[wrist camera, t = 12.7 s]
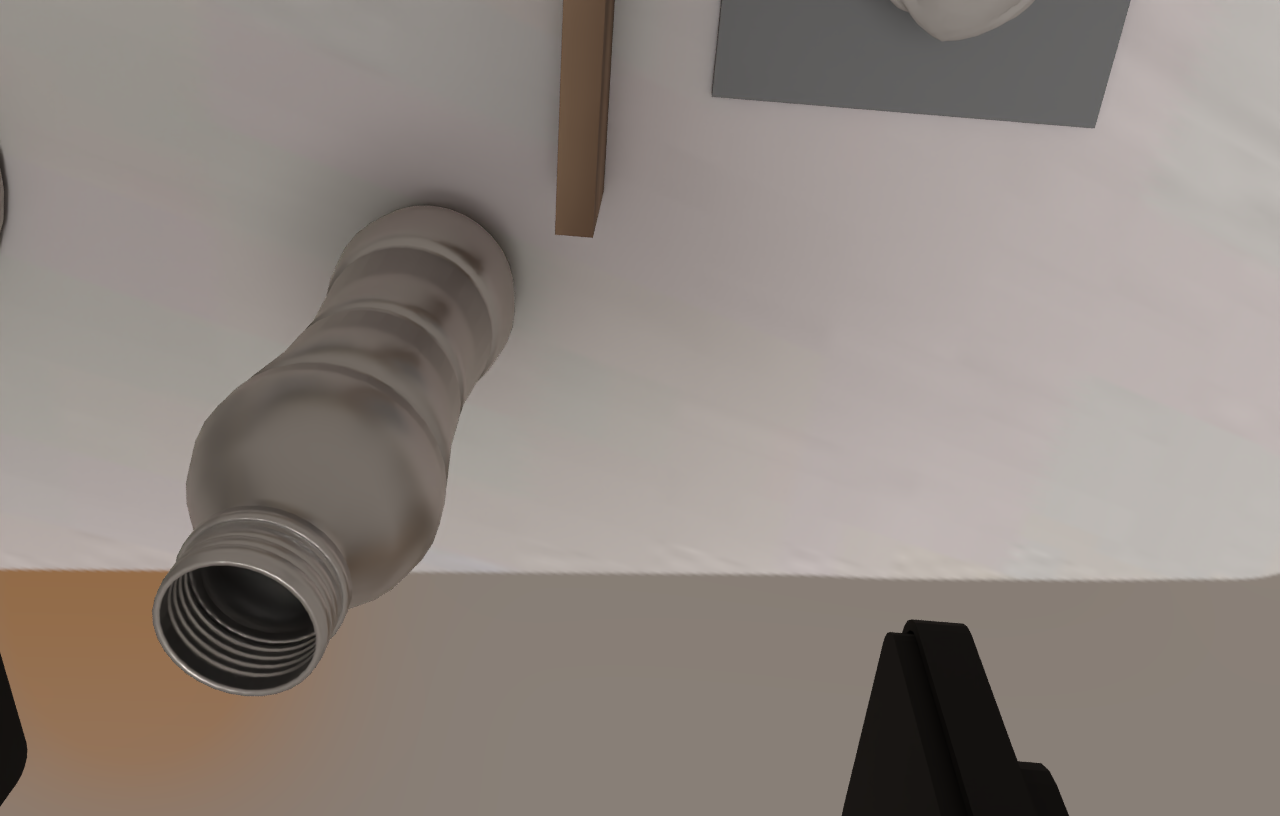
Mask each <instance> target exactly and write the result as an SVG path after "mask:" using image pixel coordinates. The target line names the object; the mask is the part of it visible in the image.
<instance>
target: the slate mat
mask: <svg viewBox="0 0 1280 816" xmlns="http://www.w3.org/2000/svg"><path fill="white" fill-rule="evenodd" d="M1130 1H1131V0H1035V1H1034V2H1033V3H1032V4H1031V5H1030V6H1029V7H1028V8H1027V9H1026V10H1025V11H1023V12H1022V13H1021V14H1020V15H1018V16H1017V17H1015V18H1014V19H1012V20H1010V21H1008V22H1006V23H1004V24H1003V25H1001V26H999V27H997V28H995V29H992V30H990V31H988V32H985V33H983V34H981V35H978V36H975V37H971V38H966V39H962V40H955V41H940V40H938V39H936V38H934V37H933V36H931V35H930V34H929V33H928V32H926V31H925V30H924V29H923V28H921V27H920V26H919V25H918V24H917V23H916V22H915V20H914V19H913V18H912V16H911V15H910V13H909V12H907V11H903V10H901V9H899V8H898V7H896V6H895V5H894V4H893V3H892V2H891V1H890V0H722V1H721V10H720V20H719V29H718V39H717V49H716V58H715V68H714V78H713V87H712V97H721V98H733V99H745V100H757V101H770V102H782V103H794V104H806V105H818V106H830V107H842V108H854V109H866V110H878V111H890V112H902V113H914V114H927V115H939V116H951V117H963V118H975V119H987V120H999V121H1011V122H1023V123H1035V124H1047V125H1059V126H1071V127H1083V128H1095V125H1096V122H1097V118H1098V114H1099V111H1100V107H1101V104H1102V100H1103V97H1104V93H1105V90H1106V86H1107V82H1108V79H1109V75H1110V72H1111V68H1112V65H1113V61H1114V58H1115V54H1116V50H1117V47H1118V43H1119V40H1120V36H1121V33H1122V29H1123V26H1124V22H1125V18H1126V15H1127V11H1128V8H1129V4H1130Z"/></svg>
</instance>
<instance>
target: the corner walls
mask: <svg viewBox="0 0 1280 816" xmlns="http://www.w3.org/2000/svg"><path fill="white" fill-rule="evenodd" d="M614 3H615V0H563V23H562V51H561V79H560V108H559V136H558V164H557V193H556V221H555V235H567V236H579V237H591V238H593V235H594V230H595V226H596V222H597V218H598V213H599V209H600V205H601V201H602V196H603V192H604V177H605V159H606V142H607V124H608V107H609V90H610V72H611V55H612V37H613V20H614Z"/></svg>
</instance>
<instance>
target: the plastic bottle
mask: <svg viewBox="0 0 1280 816" xmlns="http://www.w3.org/2000/svg"><path fill="white" fill-rule="evenodd" d="M514 313H515V300H514V283H513V277H512V273H511V269H510V266H509V263H508V261H507V259H506V257H505V255H504V253H503V251H502V249H501V247H500V246H499V245H498V244H497V242H496V241H495V240H494V238H493V237H492V236H491V235H490V234H489V233H488V232H487V231H486V230H485V229H484V228H483V227H482V226H481V225H479V224H478V223H477V222H475V221H473V220H472V219H470V218H468V217H467V216H465V215H463V214H461V213H458V212H456V211H453V210H450V209H448V208H442V207H437V206H411V207H407V208H402V209H398V210H396V211H394V212H392V213H390V214H387V215H385V216H383V217H381V218H379V219H378V220H376V221H374V222H372V223H370V224H369V225H367V226H366V227H365V228H364V229H362V230H361V231H360V232H358V233H357V234H356V235H355V236H354V238H353V239H352V240H351V241H350V242H349V244H348V245H347V246H346V247H345V249H344V251H343V253H342V255H341V257H340V259H339V261H338V263H337V265H336V268H335V270H334V272H333V275H332V277H331V280H330V284H329V288H328V292H327V296H326V298H325V300H324V302H323V304H322V306H321V307H320V309H319V311H318V313H317V315H316V317H315V318H314V320H313V322H312V323H311V324H310V325H309V326H308V327H307V328H306V330H305V331H303V332H302V333H301V335H300V336H299V337H298V338H297V339H296V340H295V341H294V342H293V343H292V344H291V345H290V346H289V347H288V349H287V350H286V351H285V352H284V353H282V354H281V355H280V356H278V357H277V358H276V359H274V360H273V361H272V362H270V363H269V364H268V365H267V366H265V367H264V368H263V369H261V370H260V371H259V372H257V373H256V374H255V375H254V376H252V377H251V378H250V379H248V380H247V381H246V382H244V383H243V384H242V385H240V386H239V387H238V388H236V389H235V390H234V391H233V392H232V393H231V394H230V395H229V396H228V397H227V398H226V399H225V400H224V401H223V402H222V403H220V404H219V405H218V407H217V408H216V409H215V410H214V411H213V412H212V414H211V415H210V416H209V417H208V418H207V420H206V421H205V422H204V424H203V426H202V428H201V430H200V432H199V435H198V437H197V439H196V441H195V445H194V449H193V453H192V458H191V462H190V466H189V471H188V476H187V481H186V500H187V507H188V511H189V515H190V519H191V523H192V526H193V532H192V533H191V534H190V535H189V537H188V538H187V540H186V541H185V542H184V544H183V546H182V548H181V550H180V551H179V553H178V555H177V559H176V563H175V564H174V566H173V567H172V568H171V570H170V571H169V573H168V574H167V575H166V577H165V578H164V579H163V581H162V583H161V585H160V587H159V589H158V591H157V595H156V597H155V600H154V605H153V609H152V615H153V626H154V629H155V632H156V635H157V638H158V640H159V642H160V644H161V645H162V647H163V649H164V651H165V652H166V653H167V655H168V656H169V657H170V658H171V660H172V661H173V662H174V663H175V664H176V665H177V666H178V667H180V668H181V669H182V670H183V671H184V672H185V673H187V674H188V675H190V676H191V677H193V678H194V679H196V680H197V681H199V682H201V683H203V684H205V685H207V686H209V687H211V688H214V689H217V690H220V691H223V692H226V693H230V694H236V695H243V696H265V695H272V694H277V693H280V692H283V691H286V690H289V689H291V688H293V687H294V686H296V685H298V684H299V683H301V682H302V681H303V680H304V679H305V678H307V677H308V676H309V675H310V674H311V672H312V671H313V669H314V668H315V667H316V666H317V664H318V663H319V661H320V660H321V658H322V656H323V654H324V652H325V649H326V647H327V645H328V643H329V640H330V639H331V638H332V637H333V636H334V635H335V634H336V632H337V630H338V629H339V628H340V626H341V624H342V623H343V620H344V618H345V616H346V614H347V612H348V609H350V608H353V607H356V606H359V605H361V604H364V603H367V602H370V601H373V600H375V599H377V598H379V597H380V596H382V595H383V594H385V593H387V592H388V591H390V590H392V589H393V588H394V587H395V586H396V585H397V584H398V583H399V582H400V581H401V580H402V579H403V578H404V577H405V576H406V575H407V574H408V573H409V572H410V571H411V570H412V569H413V568H414V567H415V566H416V565H417V564H418V563H419V562H420V561H421V560H422V559H423V557H424V556H425V554H426V553H427V551H428V550H429V548H430V547H431V545H432V543H433V541H434V538H435V535H436V533H437V530H438V527H439V524H440V520H441V516H442V512H443V508H444V504H445V495H446V486H447V478H448V469H449V461H450V453H451V445H452V441H453V438H454V435H455V431H456V428H457V424H458V421H459V416H460V413H461V411H462V407H463V405H464V403H465V401H466V400H467V398H468V396H469V395H470V393H471V391H472V389H473V388H474V386H475V384H476V383H477V382H478V381H479V380H480V378H481V377H482V376H483V375H484V374H485V373H486V372H487V371H488V370H489V369H490V368H491V366H492V365H493V363H494V362H495V360H496V359H497V358H498V356H499V354H500V353H501V351H502V350H503V348H504V346H505V345H506V343H507V341H508V338H509V335H510V333H511V330H512V327H513V320H514Z"/></svg>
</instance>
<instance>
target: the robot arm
mask: <svg viewBox="0 0 1280 816" xmlns="http://www.w3.org/2000/svg"><path fill="white" fill-rule="evenodd" d="M3 217H4V187H3V181H2V175H1V170H0V232H1V228H2V224H3ZM26 759H27V744H26V740H25V737H24V733H23V729H22V726H21V723H20V719H19V716H18V712H17V709H16V705H15V702H14V699H13V695H12V692H11V688H10V685H9V681H8V678H7V675H6V672H5V668H4V664H3V661H2V657H1V654H0V806H1V805H2V803H3V802H4V800H5V799H6V798H7V796H8V795H9V793H10V792H11V791H12V789H13V788H14V786H15V785H16V784H17V782H18V780H19V778H20V777H21V775H22V772H23V770H24V767H25V763H26ZM842 816H1069V815H1068V812H1067V810H1066V807H1065V805H1064V802H1063V800H1062V797H1061V795H1060V792H1059V789H1058V787H1057V785H1056V783H1055V781H1054V779H1053V777H1052V775H1051V773H1050V771H1049V770H1048V769H1047V768H1046V767H1045V766H1043V765H1042V764H1041V763H1032V762H1020V761H1017V758H1016V756H1015V753H1014V750H1013V747H1012V745H1011V742H1010V739H1009V737H1008V734H1007V731H1006V729H1005V726H1004V723H1003V720H1002V717H1001V715H1000V712H999V709H998V706H997V704H996V701H995V699H994V695H993V693H992V690H991V687H990V684H989V682H988V679H987V676H986V674H985V671H984V668H983V665H982V662H981V660H980V657H979V655H978V651H977V649H976V646H975V643H974V640H973V638H972V635H971V633H970V631H969V629H968V627H967V626H966V625H964V624H960V623H948V622H935V621H924V620H908V621H907V623H906V624H905V626H904V629H903V632H902V633H893V632H889V633H887V635H886V636H885V639H884V642H883V646H882V650H881V654H880V658H879V662H878V666H877V671H876V675H875V679H874V683H873V687H872V691H871V696H870V700H869V704H868V708H867V712H866V716H865V720H864V724H863V729H862V733H861V737H860V741H859V745H858V750H857V753H856V758H855V762H854V766H853V770H852V774H851V778H850V783H849V787H848V791H847V795H846V799H845V803H844V808H843V812H842Z"/></svg>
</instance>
